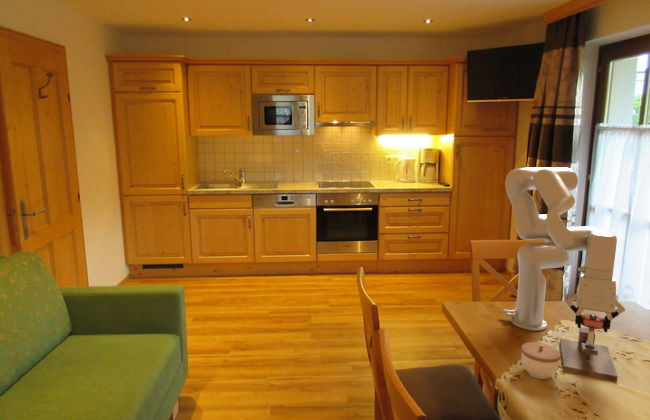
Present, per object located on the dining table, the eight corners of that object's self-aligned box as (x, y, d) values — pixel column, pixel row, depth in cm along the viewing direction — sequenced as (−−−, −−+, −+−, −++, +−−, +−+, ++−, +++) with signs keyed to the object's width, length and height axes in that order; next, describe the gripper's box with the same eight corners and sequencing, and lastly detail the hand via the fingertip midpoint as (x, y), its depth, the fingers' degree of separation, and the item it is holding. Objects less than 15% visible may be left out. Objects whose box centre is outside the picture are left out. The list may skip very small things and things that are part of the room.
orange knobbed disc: (577, 361, 138) (582, 317, 135) (575, 352, 144) (580, 309, 141) (601, 365, 135) (607, 321, 133) (598, 356, 141) (603, 313, 138)
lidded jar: (556, 387, 128) (559, 357, 127) (516, 376, 134) (519, 348, 132) (560, 370, 137) (562, 342, 136) (522, 361, 143) (524, 334, 141)
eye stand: (563, 370, 137) (566, 345, 136) (559, 342, 155) (562, 319, 154) (617, 381, 132) (620, 354, 130) (606, 350, 150) (609, 326, 148)
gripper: (566, 272, 134) (560, 328, 138) (634, 280, 127) (627, 339, 131) (564, 265, 141) (559, 318, 144) (629, 273, 134) (622, 328, 137)
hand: (591, 327), depth 138 cm, fingers closed on orange knobbed disc, 6 cm apart
